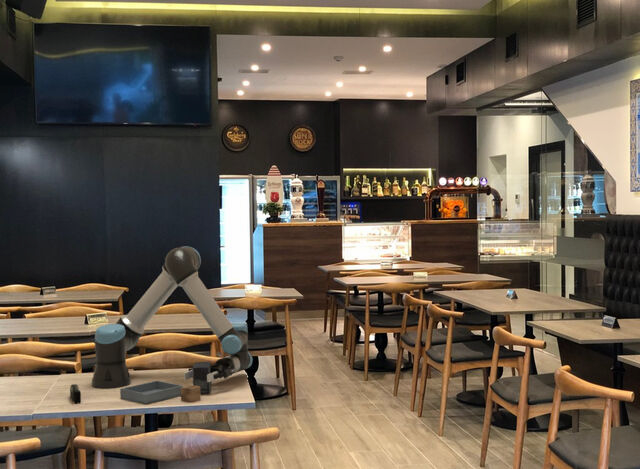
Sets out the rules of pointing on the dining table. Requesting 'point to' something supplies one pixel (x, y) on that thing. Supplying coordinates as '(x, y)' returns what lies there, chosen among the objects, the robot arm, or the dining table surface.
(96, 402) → the dining table surface
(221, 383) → the dining table surface
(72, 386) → the mobile phone
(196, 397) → the walnut cube
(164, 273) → the robot arm
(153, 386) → the tray
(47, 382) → the dining table surface
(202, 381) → the small box
